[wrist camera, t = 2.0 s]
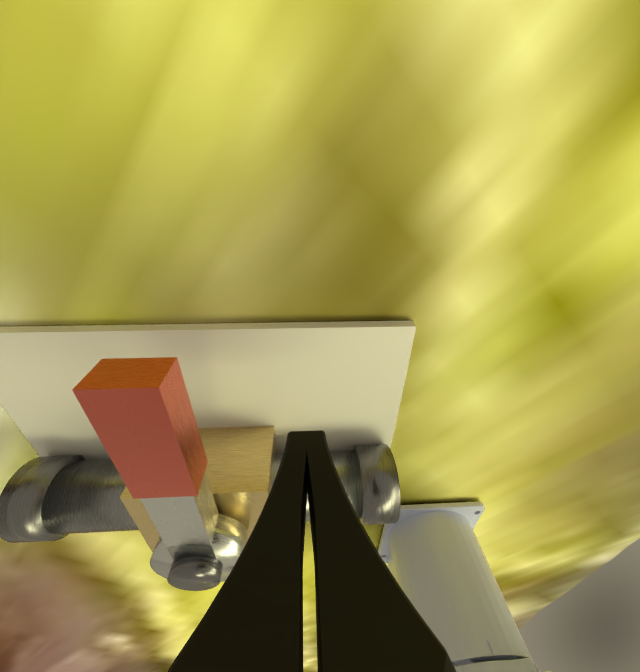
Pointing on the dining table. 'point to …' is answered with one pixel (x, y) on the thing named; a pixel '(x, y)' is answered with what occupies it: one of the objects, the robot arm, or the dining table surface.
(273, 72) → the dining table surface
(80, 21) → the dining table surface
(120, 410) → the lever
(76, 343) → the mounting board
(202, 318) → the dining table surface
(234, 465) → the valve body
